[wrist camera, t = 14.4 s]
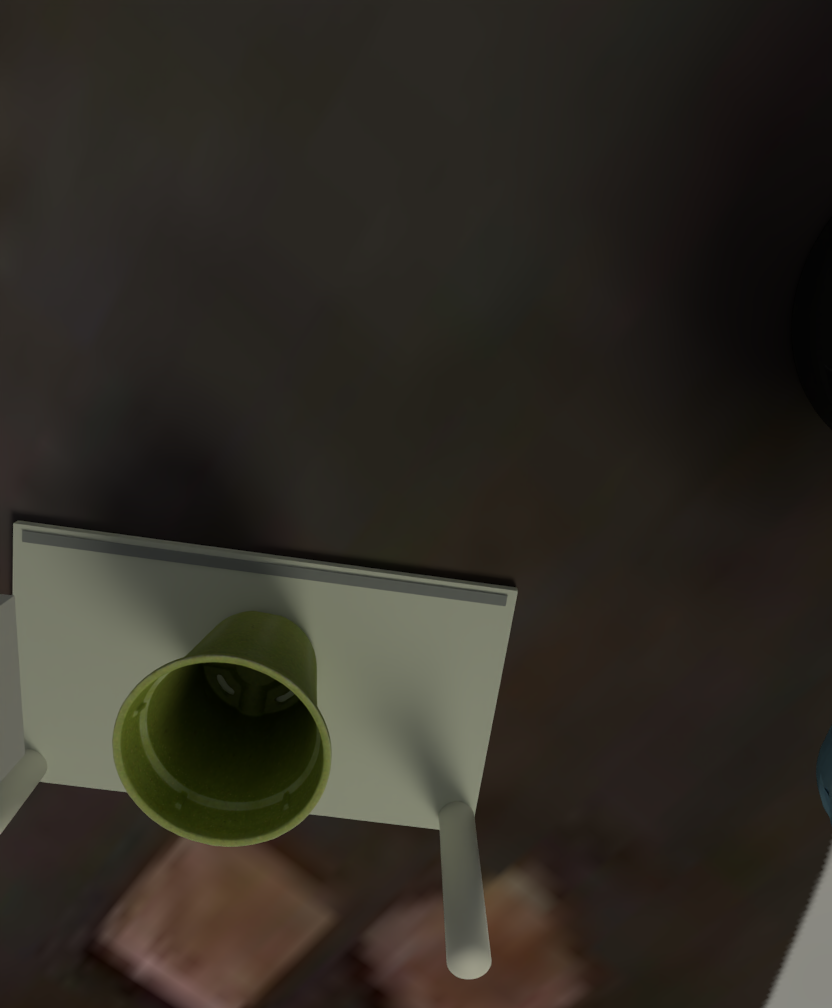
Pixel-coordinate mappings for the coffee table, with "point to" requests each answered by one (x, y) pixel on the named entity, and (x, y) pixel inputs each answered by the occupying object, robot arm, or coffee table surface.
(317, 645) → the mat
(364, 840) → the coffee table surface
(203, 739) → the plant pot
